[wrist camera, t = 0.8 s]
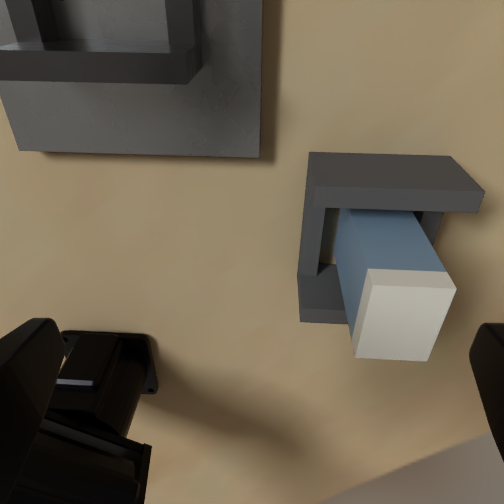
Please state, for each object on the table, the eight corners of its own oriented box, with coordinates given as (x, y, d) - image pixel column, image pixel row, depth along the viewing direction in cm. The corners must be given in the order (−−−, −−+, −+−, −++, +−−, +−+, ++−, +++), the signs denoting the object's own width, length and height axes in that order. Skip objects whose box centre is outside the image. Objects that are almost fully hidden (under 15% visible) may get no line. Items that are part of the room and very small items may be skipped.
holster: (410, 280, 24) (432, 328, 21) (297, 276, 24) (300, 322, 21) (450, 156, 19) (485, 191, 16) (309, 151, 20) (315, 186, 16)
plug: (384, 252, 23) (427, 361, 16) (333, 250, 23) (355, 357, 16) (400, 190, 21) (456, 288, 14) (343, 188, 21) (372, 285, 14)
